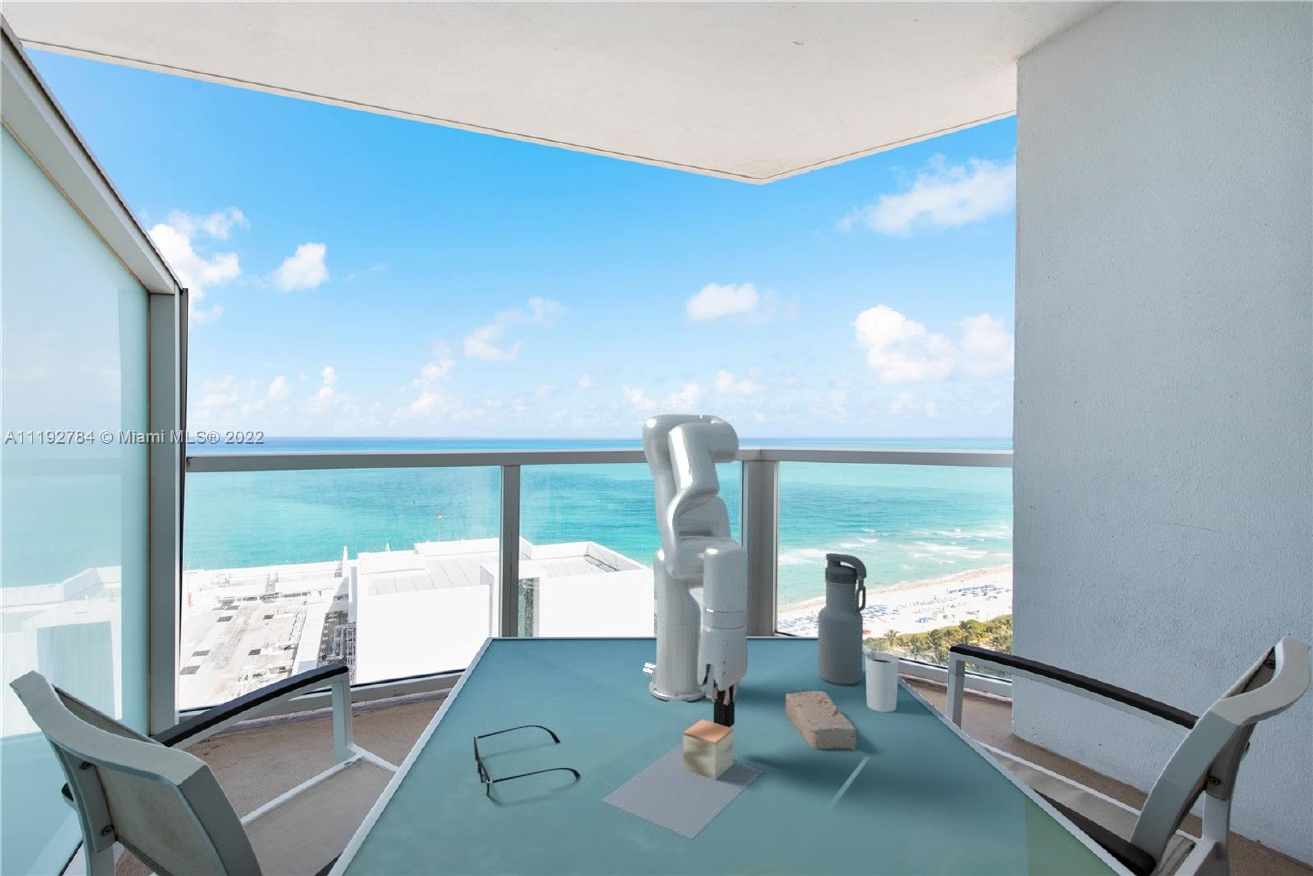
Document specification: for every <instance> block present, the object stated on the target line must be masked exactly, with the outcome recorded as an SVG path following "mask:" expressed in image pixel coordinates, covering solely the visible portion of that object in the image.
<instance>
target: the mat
mask: <svg viewBox="0 0 1313 876" xmlns="http://www.w3.org/2000/svg"><path fill="white" fill-rule="evenodd" d="M763 772H764V771H763V770H760V769H758V768H755V767H752V766H748V765H745V764H742V763H739V762H736V761H735V760H733V765H732V766H730V767H729V768H728V769H727V770H726V771H725V772H724V773H722V774H721V775H720V776H719V777H718V778H717V779H716V780H713V779H711V778H708V777H705V776H702V775H699V774H697V773H694V772H691V771H688V770H685V769H683V743H679V744H678V745H677V746H674V748H672V749H670V750H669V751H668V752H666V753H665V754H664V755H662V756H660V758H658V759H657V760H656V761H654V762H652V763H651V764H649V766H647V767H645V768H644V769H643V770H641V771H640V772H638V773H637V774H636V775H634V776H633V777H632V778H630V779H629V780H627V781H626V782H624V783H623V784H622V785H620V786H619V787H617V788H616V789H615V790H614V791H612V792H611V793H609V794H608V795H606V796H605V797H604V798H602V799H601V800H600V801H601V802H603V803H606V804H607V805H610V806H612V807H614V808H616V809H619V810H621V811H624V812H627V813H629V814H632V815H633V816H636V817H638V818H640V819H643V820H644V821H647V822H650V823H652V824H655V825H656V826H659V827H661V828H664V829H666V830H668V831H671V832H673V833H676V834H678V835H681V836H682V837H685V838H688V839H689V840H694V839H695V838H696V837H697V835H699V834H700V833H701V832H702V831H703V830H704V829H705V828H706V827H707V826H708V825H709V824H710V823H711V822H712V821H713V820H714V819H715V818H716V817H717V816H719V814H721V812H723V810H725V808H727V806H728V805H730V804H731V803H732V802H733V801H734V800H735V799H736V798H737V797H738V796H739V795H740V794H741V793H742V792H743V791H744V790H745V789H746V788H747V787H748V786H750V784H751V783H753V781H755V779H757V778H758V776H760V775H761V774H762V773H763Z"/></svg>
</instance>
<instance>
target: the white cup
mask: <svg viewBox="0 0 1313 876" xmlns="http://www.w3.org/2000/svg"><path fill="white" fill-rule="evenodd" d="M864 655H865V656H864V657H865V659H864V660H865V662H864V663H865V687H866V688H865V689H866V705H867V707H868V708H869V709H871V710H873V711H876V712H883V713H890V712H891V713H892V712H895V711H896V710H897V701H898V699H897V698H898V684H899V669H900V668H899V667H900V665H899V664H900V658H899V657H898V656H896V655H895V654H892V653H888V652H883V651H882V652H881V651H873V652H871V651H870V652H868V653H866V654H864Z"/></svg>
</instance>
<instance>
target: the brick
mask: <svg viewBox="0 0 1313 876" xmlns="http://www.w3.org/2000/svg"><path fill="white" fill-rule="evenodd" d="M785 714H786V716H787V718H788V720H790V722H791V724H792V725H793V728H795V729H796V731H797V732H798V733H799V734H800V735H801V736H803V737H804V739H805V740H806V742H808V743H807V744H809V746H810V747H811V748H812V749H813V750H824V749H825V750H826V749H828V750H829V749H849V750H850V749H851V750H853V751H856V742H857V738H856V732H857V730H856V728H855V726H854V725H853V724H852V722H851V721H850V720H849V719H848V718H847V717H846V716H844V715H843V713H841V712H840V711H839V709H838V708H837V706H836V705H835V703H834V702H833V701H832V698H831V697H829V695H828V694H827V693H826V692H824V691H819V690H818V691H817V690H812V691H800V692H794V693H786V695H785Z"/></svg>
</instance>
